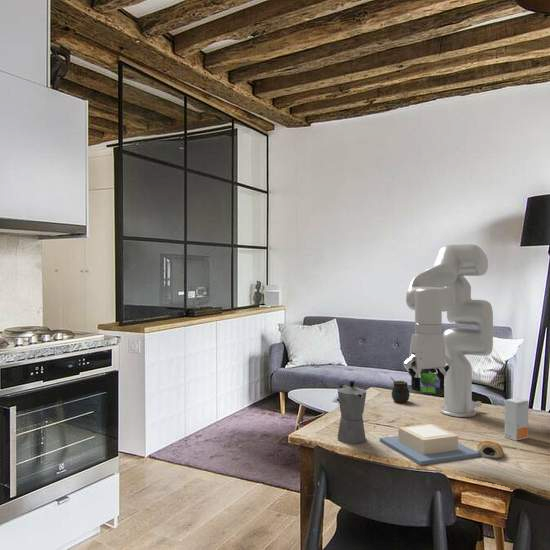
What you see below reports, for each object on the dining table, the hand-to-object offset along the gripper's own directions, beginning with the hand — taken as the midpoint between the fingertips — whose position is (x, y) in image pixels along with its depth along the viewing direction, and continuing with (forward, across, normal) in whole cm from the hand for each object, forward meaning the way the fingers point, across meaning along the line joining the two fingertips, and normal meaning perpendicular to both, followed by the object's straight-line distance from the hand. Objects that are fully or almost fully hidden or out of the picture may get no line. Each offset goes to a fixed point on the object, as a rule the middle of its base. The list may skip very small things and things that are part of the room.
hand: (427, 388), depth 142 cm
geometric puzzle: (+2, 0, 0) cm, 2 cm away
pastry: (+18, -14, +9) cm, 25 cm away
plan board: (+18, 0, 0) cm, 18 cm away
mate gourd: (+18, -24, -49) cm, 57 cm away
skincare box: (+18, -33, +1) cm, 37 cm away
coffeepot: (+18, +17, -16) cm, 29 cm away
